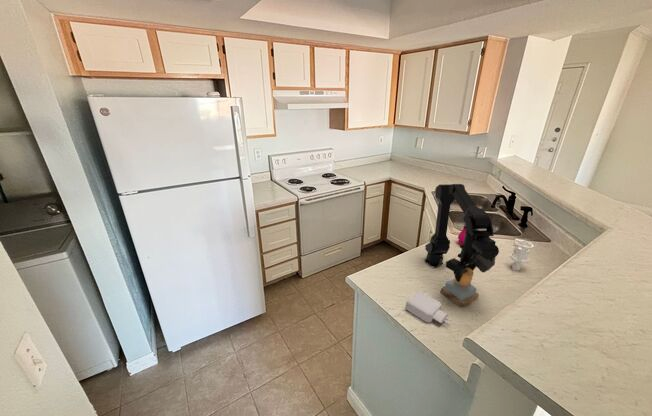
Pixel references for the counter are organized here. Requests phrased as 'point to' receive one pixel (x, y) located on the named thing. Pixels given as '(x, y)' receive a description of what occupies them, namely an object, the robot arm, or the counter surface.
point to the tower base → (453, 298)
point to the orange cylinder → (466, 278)
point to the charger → (426, 308)
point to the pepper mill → (461, 236)
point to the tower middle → (460, 289)
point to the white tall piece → (520, 253)
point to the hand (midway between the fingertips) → (462, 278)
